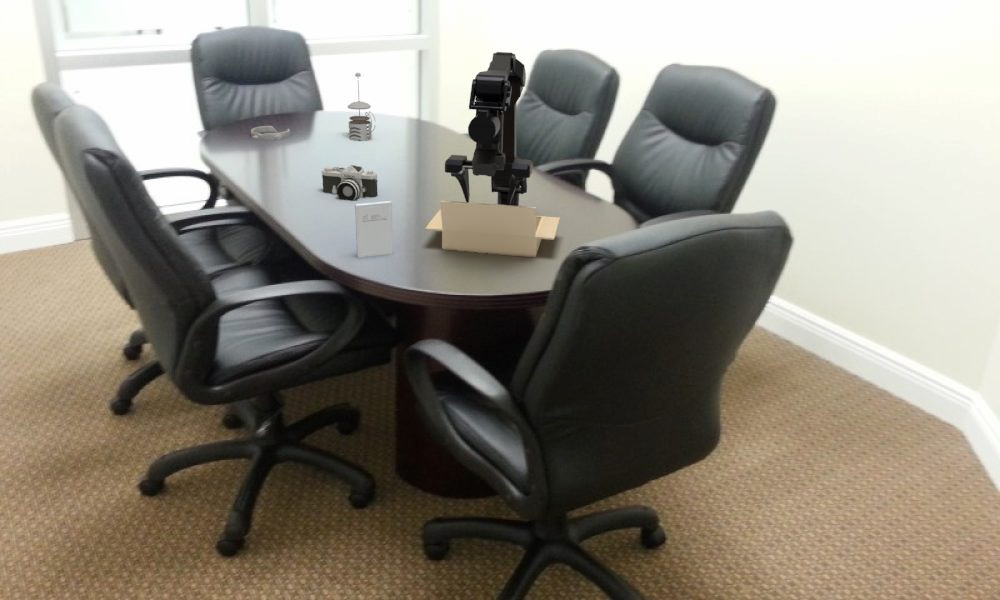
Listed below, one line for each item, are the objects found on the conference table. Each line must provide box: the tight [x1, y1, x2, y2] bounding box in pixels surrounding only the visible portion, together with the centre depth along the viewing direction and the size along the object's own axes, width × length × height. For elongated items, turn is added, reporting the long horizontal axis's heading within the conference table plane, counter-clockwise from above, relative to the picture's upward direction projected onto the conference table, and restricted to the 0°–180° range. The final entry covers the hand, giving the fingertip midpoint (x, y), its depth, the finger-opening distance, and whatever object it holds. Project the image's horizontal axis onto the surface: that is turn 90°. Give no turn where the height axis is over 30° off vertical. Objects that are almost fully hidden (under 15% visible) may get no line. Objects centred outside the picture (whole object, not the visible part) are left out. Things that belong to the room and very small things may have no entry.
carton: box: [425, 208, 561, 258], centre depth 194 cm, size 16×30×5 cm, turn 81°
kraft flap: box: [439, 199, 537, 237], centre depth 183 cm, size 8×22×1 cm
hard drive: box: [354, 200, 394, 258], centre depth 182 cm, size 2×8×12 cm, turn 115°
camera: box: [321, 164, 378, 202], centre depth 223 cm, size 16×9×10 cm, turn 79°
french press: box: [346, 72, 376, 142], centre depth 282 cm, size 10×12×25 cm
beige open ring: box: [250, 125, 292, 141], centre depth 285 cm, size 14×14×5 cm
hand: (488, 204), depth 181 cm, fingers open, 9 cm apart
